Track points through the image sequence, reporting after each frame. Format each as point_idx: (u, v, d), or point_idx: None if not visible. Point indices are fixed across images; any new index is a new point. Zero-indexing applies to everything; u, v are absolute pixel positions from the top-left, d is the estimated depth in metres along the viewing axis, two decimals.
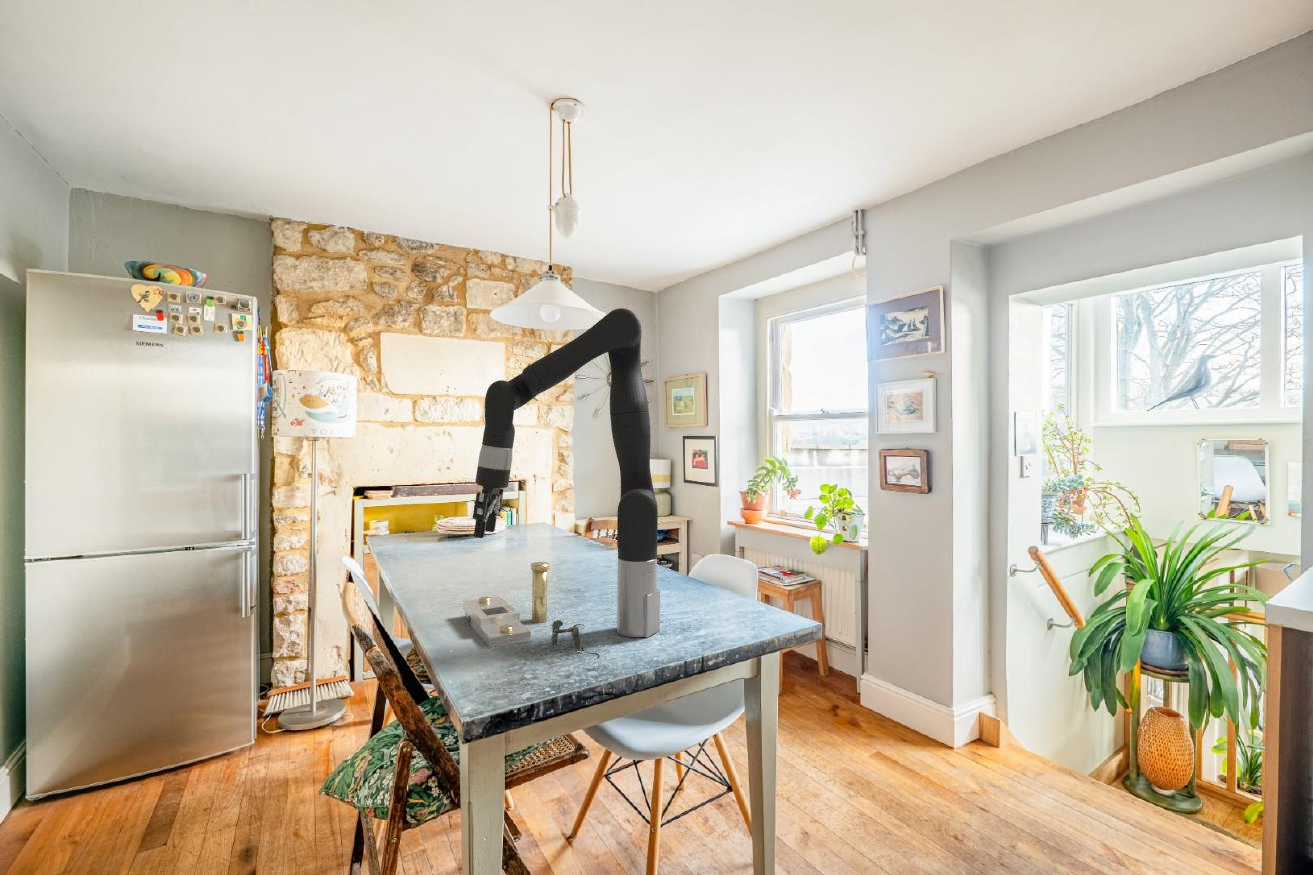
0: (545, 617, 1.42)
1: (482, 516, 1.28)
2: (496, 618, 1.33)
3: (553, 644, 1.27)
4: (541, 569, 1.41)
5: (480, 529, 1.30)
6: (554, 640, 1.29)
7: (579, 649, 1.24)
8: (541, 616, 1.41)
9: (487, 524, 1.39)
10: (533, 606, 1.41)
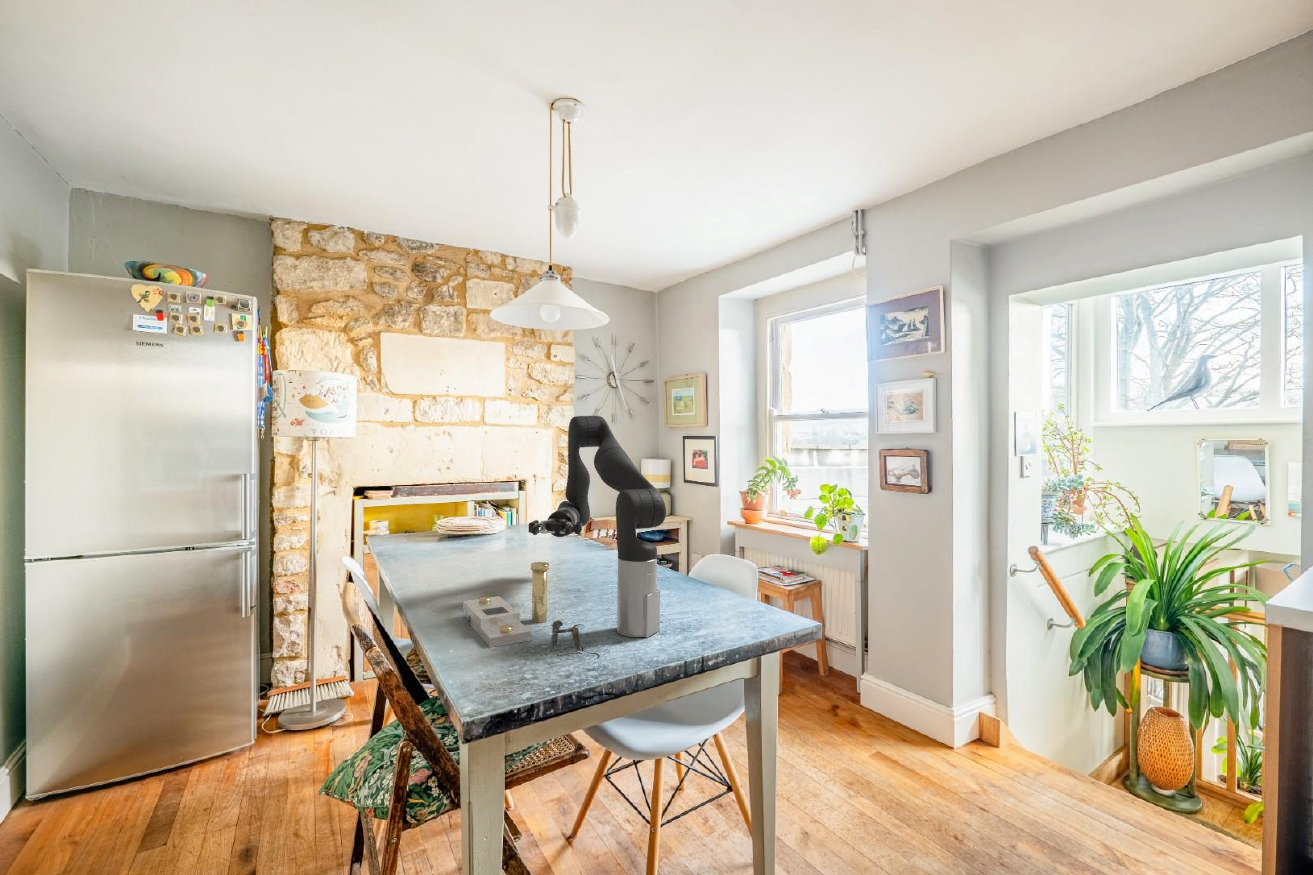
0: (545, 617, 1.42)
1: None
2: (496, 618, 1.33)
3: (553, 644, 1.27)
4: (541, 569, 1.41)
5: None
6: (554, 640, 1.29)
7: (579, 649, 1.24)
8: (541, 616, 1.41)
9: None
10: (533, 606, 1.41)
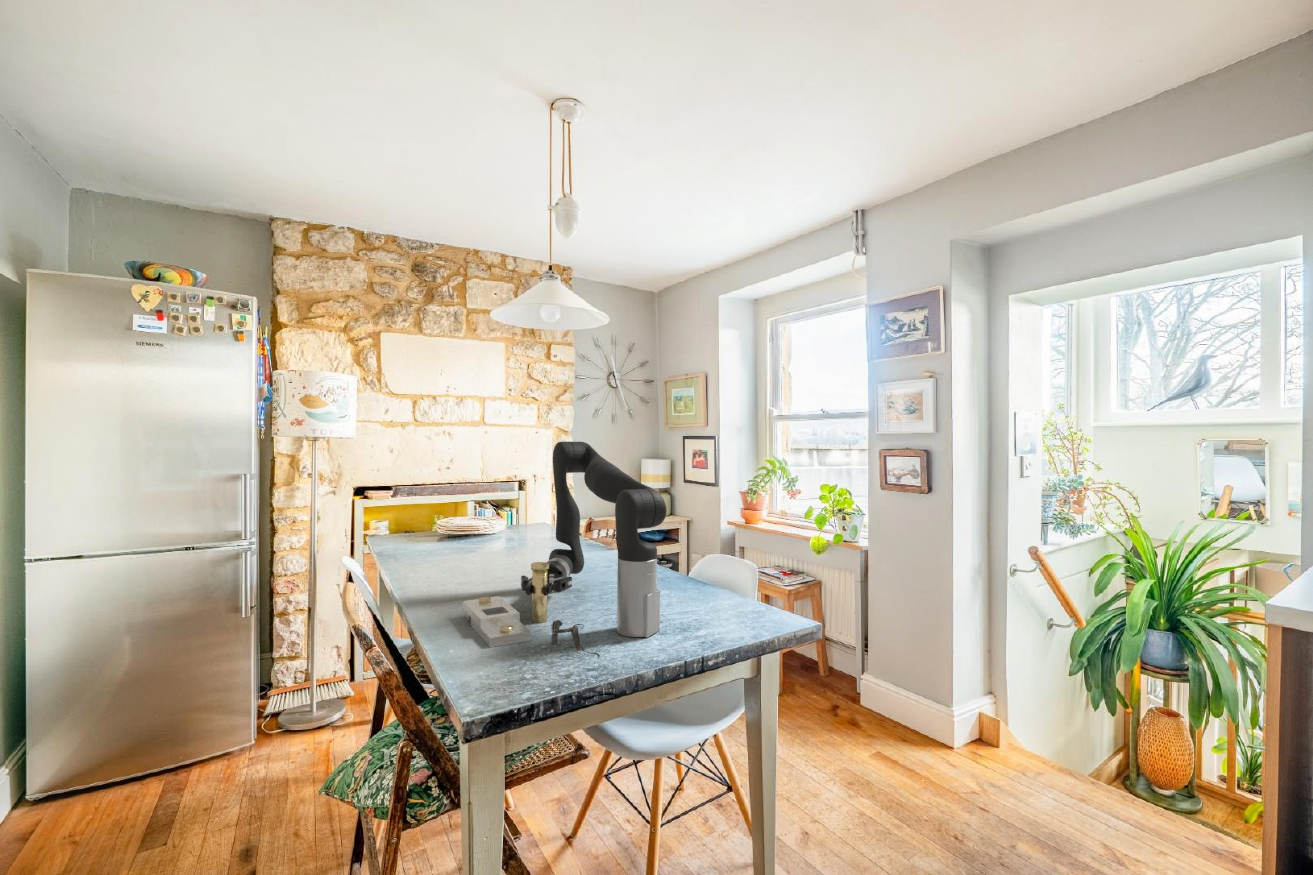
0: (545, 617, 1.42)
1: None
2: (496, 618, 1.33)
3: (553, 644, 1.27)
4: (541, 569, 1.41)
5: None
6: (554, 640, 1.29)
7: (579, 649, 1.24)
8: (541, 616, 1.41)
9: None
10: (533, 606, 1.41)
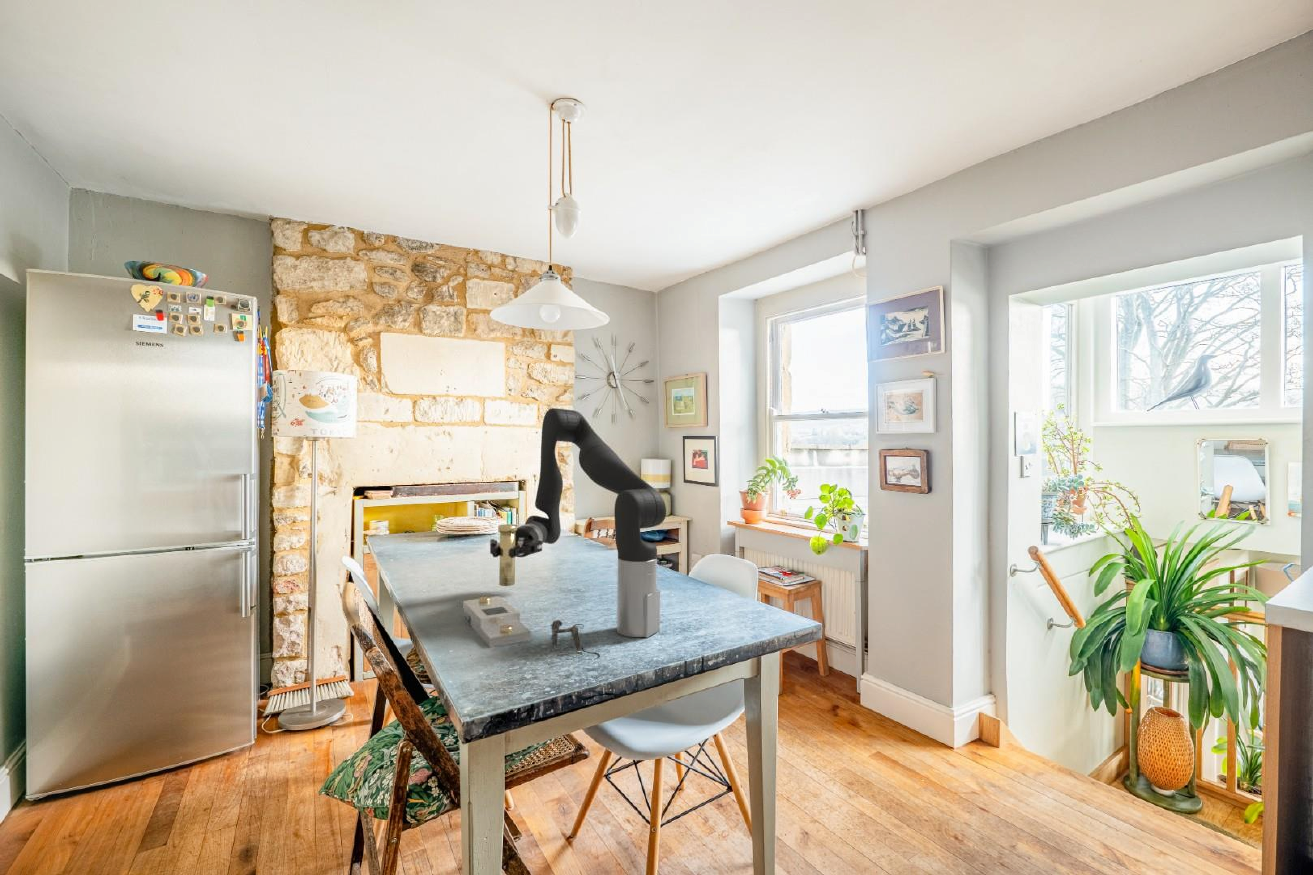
0: (513, 580, 1.38)
1: None
2: (496, 618, 1.33)
3: (553, 644, 1.27)
4: (508, 531, 1.37)
5: None
6: (554, 640, 1.29)
7: (579, 649, 1.24)
8: (508, 579, 1.37)
9: None
10: (500, 569, 1.38)
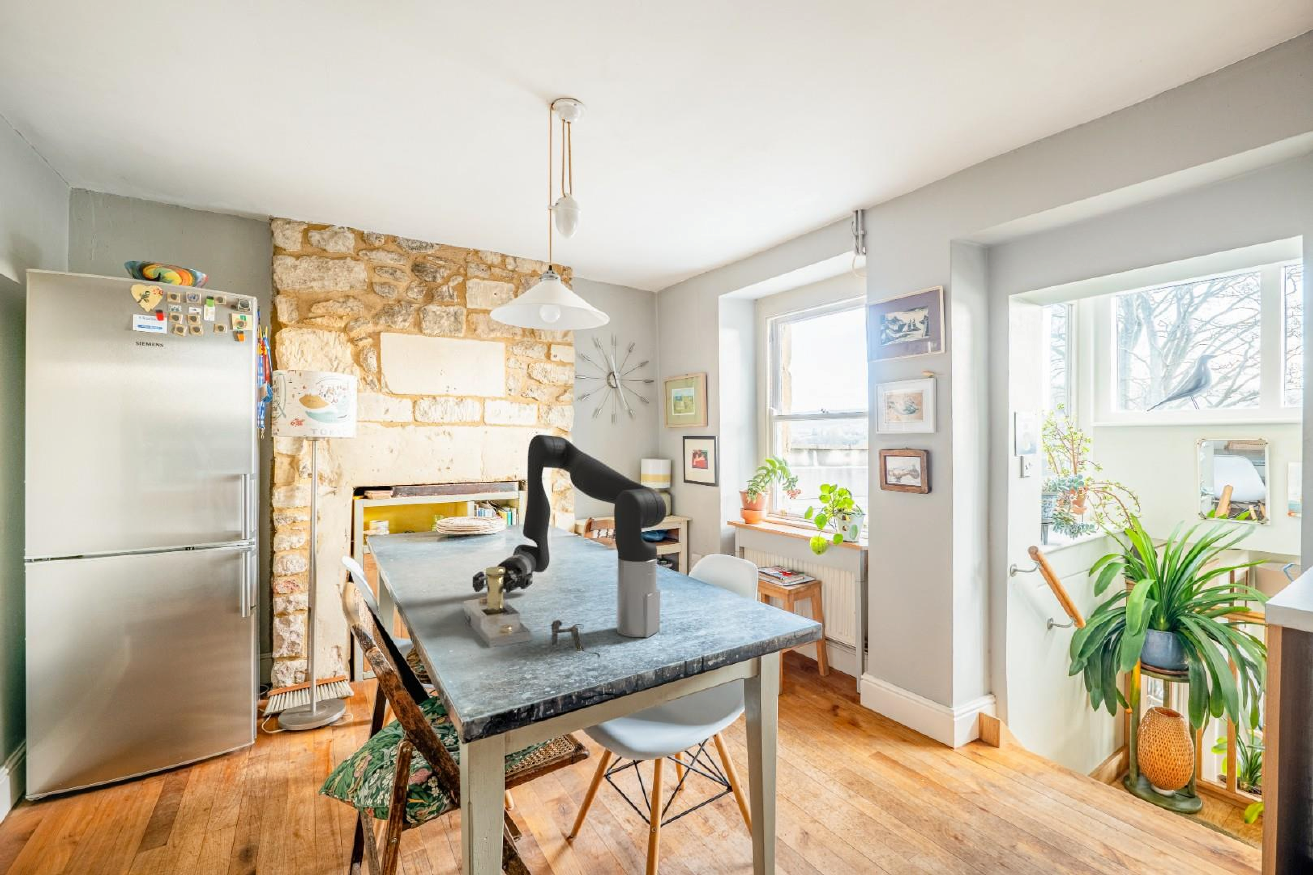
0: None
1: None
2: (496, 618, 1.33)
3: (553, 644, 1.27)
4: (496, 574, 1.35)
5: None
6: (554, 640, 1.29)
7: (579, 649, 1.24)
8: None
9: None
10: (488, 613, 1.36)
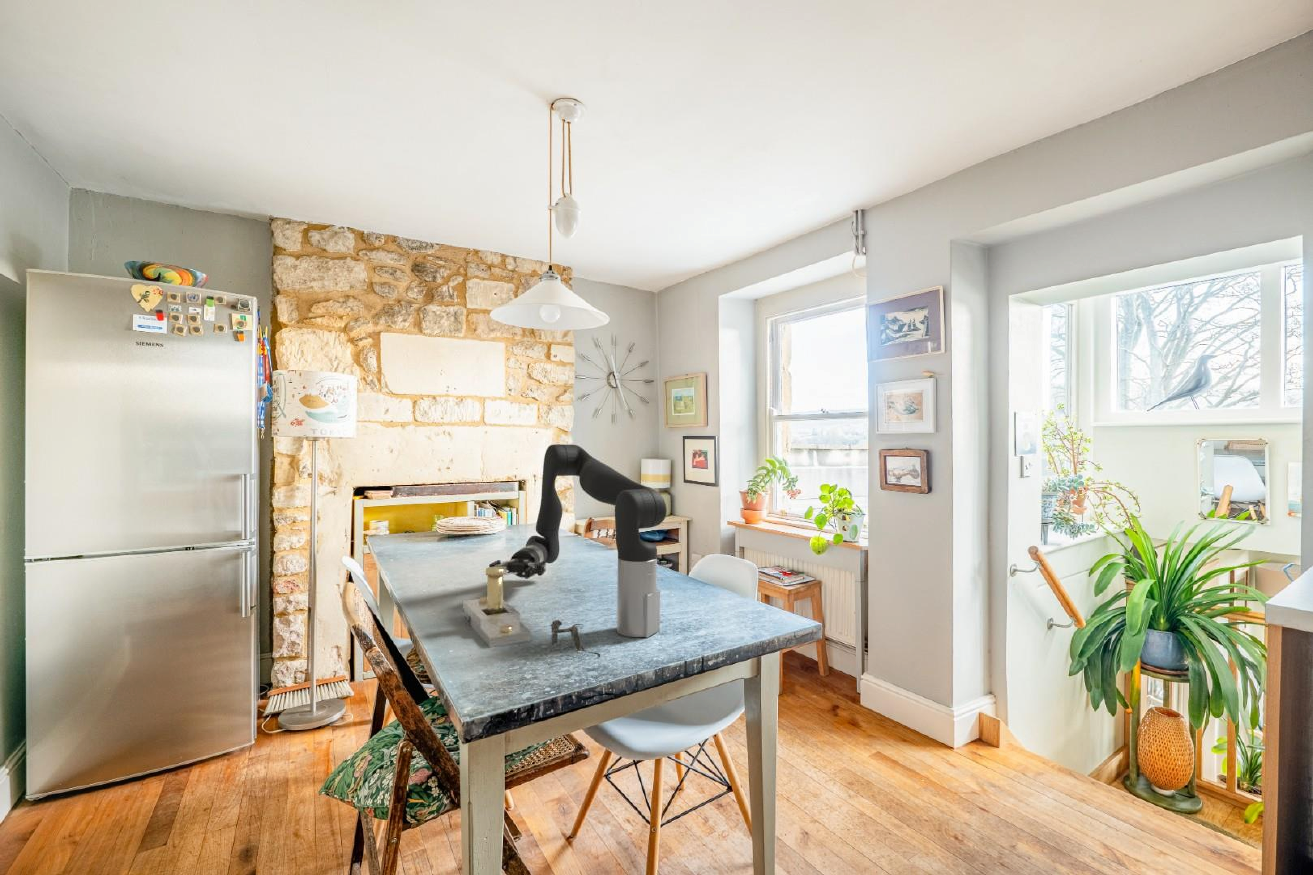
0: None
1: None
2: (496, 618, 1.33)
3: None
4: (496, 574, 1.35)
5: None
6: (554, 640, 1.29)
7: (579, 649, 1.24)
8: None
9: None
10: (488, 613, 1.36)
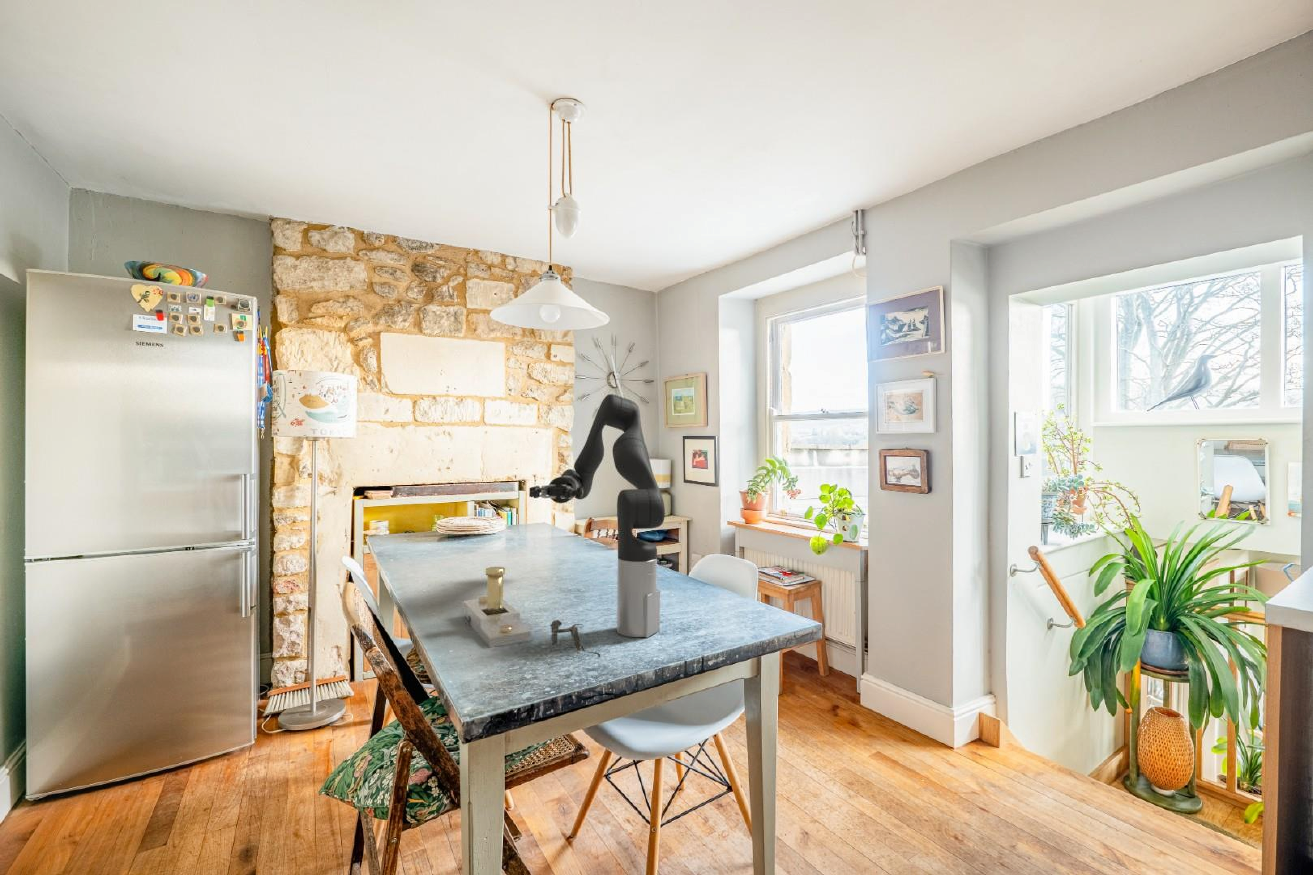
0: None
1: None
2: (496, 618, 1.33)
3: (553, 644, 1.27)
4: (496, 574, 1.35)
5: None
6: (554, 640, 1.29)
7: (579, 649, 1.24)
8: None
9: None
10: (488, 613, 1.36)
